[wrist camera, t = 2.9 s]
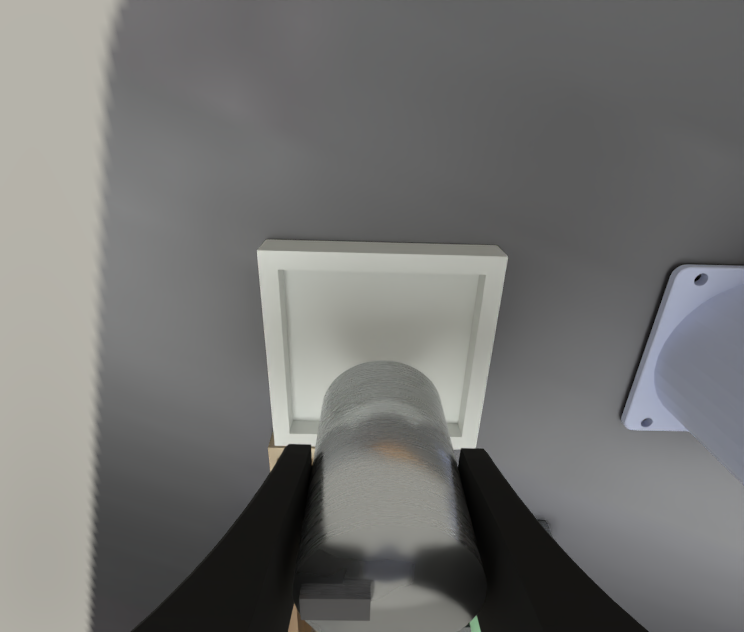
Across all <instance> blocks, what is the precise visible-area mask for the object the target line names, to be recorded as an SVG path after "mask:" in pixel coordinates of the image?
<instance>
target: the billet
mask: <svg viewBox="0 0 744 632" xmlns="http://www.w3.org/2000/svg"><path fill="white" fill-rule="evenodd" d="M486 592H487V583H486V577H485V573H484V569H483V565H482V561H481V558H480V554H479V550H478V546H477V542H476V538H475V534H474V530H473V526H472V522H471V518H470V514H469V510H468V506H467V502H466V498H465V494H464V490H463V486H462V482H461V478H460V474H459V470H458V466H457V462H456V458H455V454H454V451H453V447H452V443H451V439H450V435H449V431H448V427H447V423H446V419H445V415H444V411H443V407H442V403H441V399H440V396H439V393H438V391H437V389H436V387H435V386H434V384H433V383H432V381H431V380H430V379H429V378H428V377H427V376H426V375H424V374H423V373H422V372H420V371H419V370H417V369H416V368H413V367H411V366H409V365H406V364H403V363H400V362H395V361H385V360H382V361H371V362H365V363H362V364H359V365H356V366H354V367H351V368H350V369H348V370H346V371H344V372H343V373H342V374H340V375H339V376H338V377H337V378H336V379H335V380H334V381H333V382H332V383H331V385H330V386H329V387H328V389H327V391H326V393H325V396H324V398H323V403H322V409H321V415H320V421H319V427H318V433H317V439H316V445H315V452H314V458H313V464H312V470H311V476H310V482H309V488H308V495H307V501H306V507H305V513H304V519H303V525H302V531H301V538H300V544H299V550H298V556H297V562H296V568H295V574H294V581H293V590H292V595H293V600H294V603H295V606H296V608H297V610H298V612H299V614H300V616H301V620H305V621H306V622H307V623H308V624H309V625H310V626H311V627H312V628H314V629H315V630H316V631H318V632H458V631H459V630H461V629H462V628H463V627H465V626H466V625H467V624H468V623H469V622H471V621H472V620H473V619H474V617H475V616H476V615H477V614H478V612H479V611H480V609H481V607H482V606H483V604H484V601H485V598H486Z"/></svg>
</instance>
